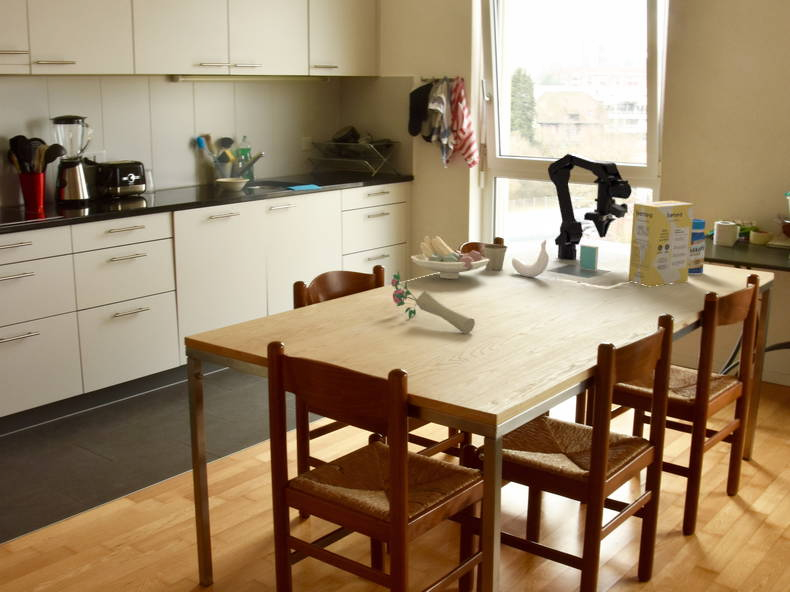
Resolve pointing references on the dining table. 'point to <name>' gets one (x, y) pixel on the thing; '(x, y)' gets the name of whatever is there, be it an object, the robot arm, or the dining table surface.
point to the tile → (588, 257)
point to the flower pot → (495, 256)
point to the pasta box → (661, 242)
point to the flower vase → (432, 307)
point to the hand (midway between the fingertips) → (602, 237)
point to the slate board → (577, 271)
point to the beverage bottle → (697, 248)
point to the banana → (534, 268)
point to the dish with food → (447, 259)
